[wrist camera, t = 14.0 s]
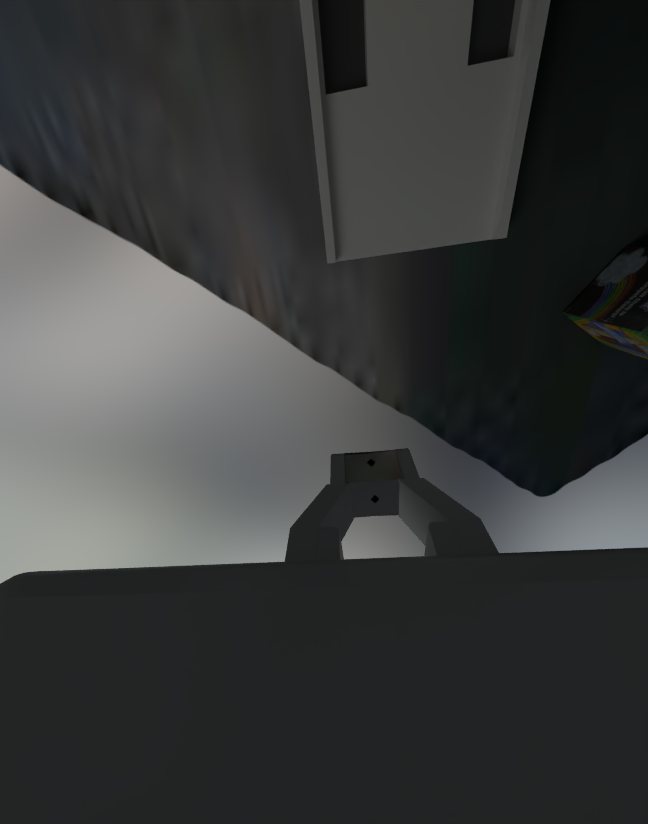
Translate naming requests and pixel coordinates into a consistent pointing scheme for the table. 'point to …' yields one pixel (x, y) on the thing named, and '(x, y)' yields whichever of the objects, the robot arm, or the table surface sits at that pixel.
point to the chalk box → (617, 303)
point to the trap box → (419, 118)
